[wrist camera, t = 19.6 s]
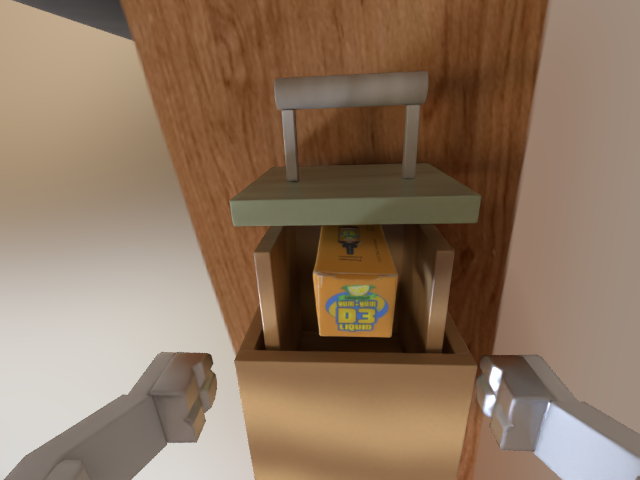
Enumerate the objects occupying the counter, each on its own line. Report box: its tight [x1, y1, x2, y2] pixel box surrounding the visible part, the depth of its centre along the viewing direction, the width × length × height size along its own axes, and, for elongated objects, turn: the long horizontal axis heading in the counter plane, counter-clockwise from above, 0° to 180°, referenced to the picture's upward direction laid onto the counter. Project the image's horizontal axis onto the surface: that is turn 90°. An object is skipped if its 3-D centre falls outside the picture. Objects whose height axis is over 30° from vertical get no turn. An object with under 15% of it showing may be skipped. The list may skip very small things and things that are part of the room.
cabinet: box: [234, 303, 477, 480], centre depth 23 cm, size 15×12×11 cm
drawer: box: [230, 71, 481, 354], centre depth 19 cm, size 18×10×9 cm, turn 2°
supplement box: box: [313, 224, 398, 337], centre depth 17 cm, size 3×3×10 cm
